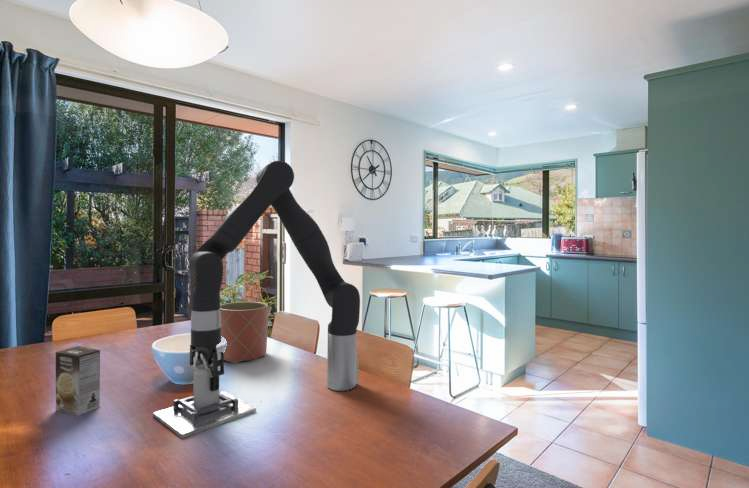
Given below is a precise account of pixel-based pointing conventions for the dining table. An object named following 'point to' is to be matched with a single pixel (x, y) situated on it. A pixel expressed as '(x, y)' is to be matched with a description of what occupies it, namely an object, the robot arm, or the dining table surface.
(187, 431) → the collar stand
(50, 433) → the dining table surface
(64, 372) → the coffee box
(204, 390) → the beverage can
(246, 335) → the planter
